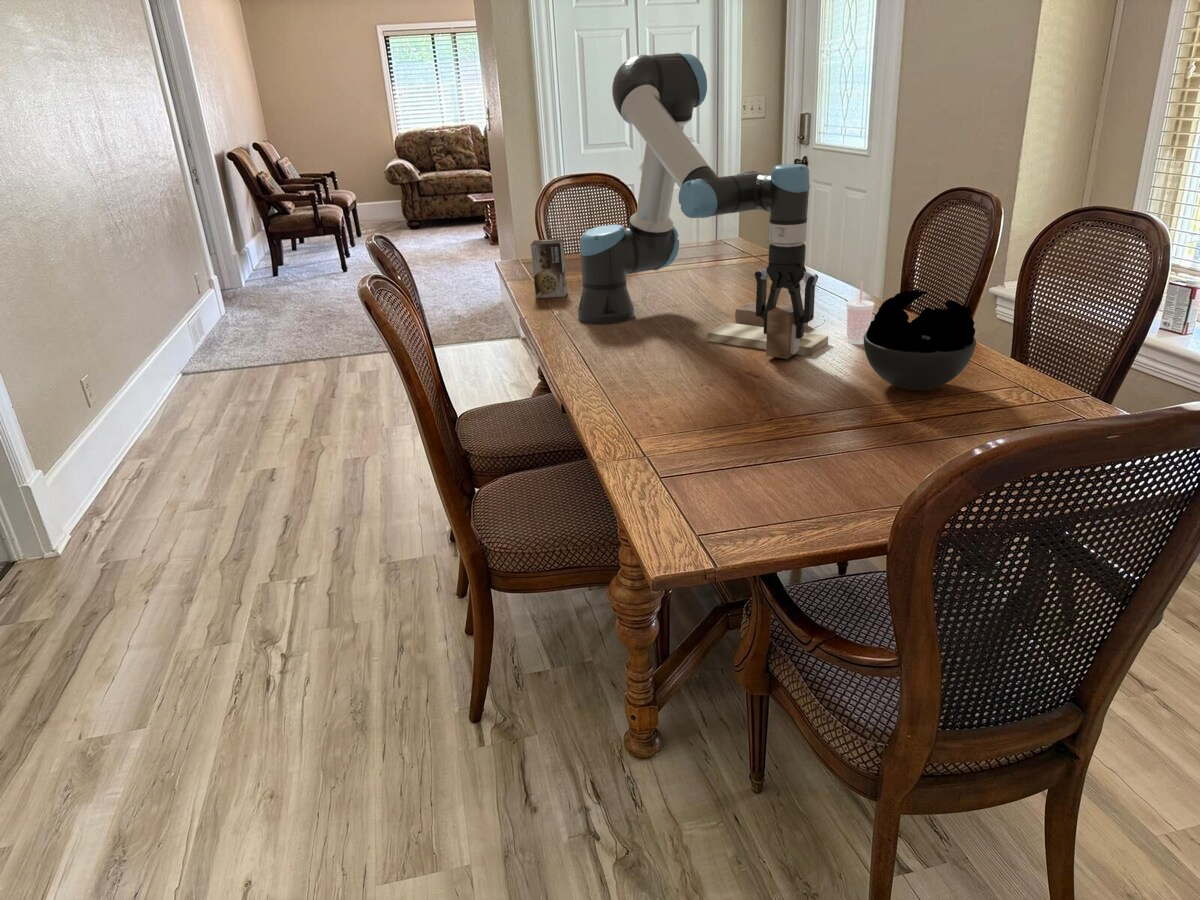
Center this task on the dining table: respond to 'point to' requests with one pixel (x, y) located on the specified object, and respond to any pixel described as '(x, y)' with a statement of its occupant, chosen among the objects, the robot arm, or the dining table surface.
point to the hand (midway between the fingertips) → (782, 350)
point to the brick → (749, 315)
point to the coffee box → (549, 268)
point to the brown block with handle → (780, 331)
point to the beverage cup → (858, 318)
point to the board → (761, 338)
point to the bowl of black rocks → (919, 343)
